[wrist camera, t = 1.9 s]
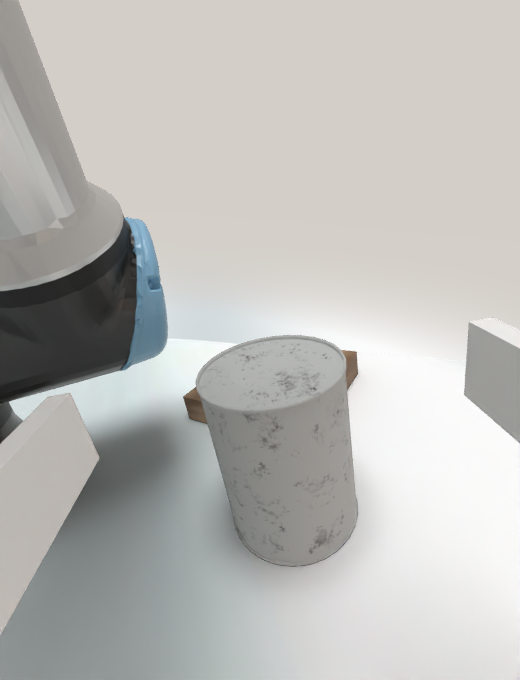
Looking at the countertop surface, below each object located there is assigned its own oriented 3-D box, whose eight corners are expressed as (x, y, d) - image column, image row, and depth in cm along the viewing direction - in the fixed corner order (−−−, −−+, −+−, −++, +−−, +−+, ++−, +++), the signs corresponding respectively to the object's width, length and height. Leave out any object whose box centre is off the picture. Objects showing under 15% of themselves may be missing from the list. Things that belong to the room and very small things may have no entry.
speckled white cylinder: (222, 567, 23) (174, 417, 18) (243, 462, 31) (214, 343, 27) (369, 566, 21) (359, 402, 16) (348, 456, 30) (337, 328, 25)
